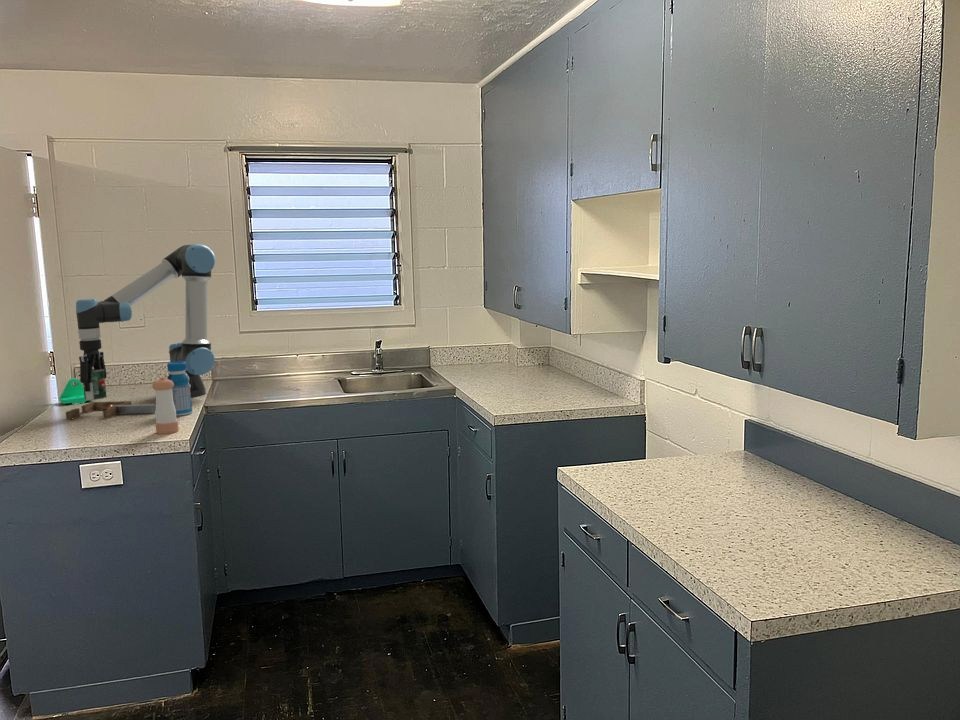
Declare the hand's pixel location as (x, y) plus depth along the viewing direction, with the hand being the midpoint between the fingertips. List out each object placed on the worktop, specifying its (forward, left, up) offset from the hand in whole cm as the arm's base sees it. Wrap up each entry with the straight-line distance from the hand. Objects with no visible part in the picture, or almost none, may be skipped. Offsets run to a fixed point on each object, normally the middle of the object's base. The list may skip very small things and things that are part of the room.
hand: (95, 397), depth 310 cm
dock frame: (-1, 0, -7) cm, 7 cm away
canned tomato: (0, 0, -1) cm, 1 cm away
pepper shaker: (-42, +32, -7) cm, 54 cm away
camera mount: (+22, -26, -7) cm, 35 cm away
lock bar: (-14, 0, -7) cm, 16 cm away
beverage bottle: (-35, +3, -7) cm, 35 cm away
